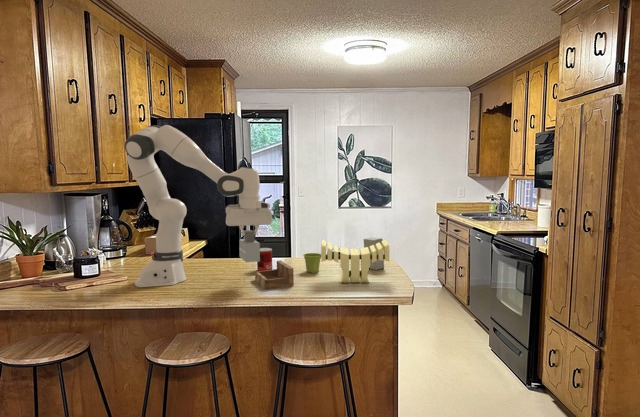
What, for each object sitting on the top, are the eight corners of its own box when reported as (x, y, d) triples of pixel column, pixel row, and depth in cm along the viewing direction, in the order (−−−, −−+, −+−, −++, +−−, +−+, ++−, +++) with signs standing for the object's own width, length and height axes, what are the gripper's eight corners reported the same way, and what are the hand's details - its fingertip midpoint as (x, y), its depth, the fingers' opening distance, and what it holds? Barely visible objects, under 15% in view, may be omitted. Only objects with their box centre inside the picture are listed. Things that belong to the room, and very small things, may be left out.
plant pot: (315, 268, 213) (315, 252, 212) (325, 272, 205) (325, 255, 204) (300, 271, 208) (299, 254, 207) (309, 274, 200) (309, 257, 199)
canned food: (273, 268, 214) (273, 247, 213) (270, 272, 206) (270, 250, 205) (259, 268, 215) (259, 247, 214) (255, 272, 207) (255, 250, 206)
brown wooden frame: (255, 279, 191) (254, 263, 190) (280, 276, 196) (280, 260, 195) (266, 289, 175) (265, 271, 174) (293, 285, 180) (293, 268, 179)
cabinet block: (245, 262, 174) (245, 233, 173) (239, 256, 185) (239, 229, 184) (259, 261, 176) (259, 232, 175) (252, 255, 187) (252, 228, 186)
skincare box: (384, 268, 210) (384, 238, 208) (374, 270, 206) (374, 239, 204) (373, 265, 217) (373, 236, 215) (363, 267, 213) (363, 237, 211)
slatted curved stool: (321, 284, 181) (321, 245, 180) (323, 275, 197) (322, 239, 196) (389, 284, 180) (389, 244, 178) (385, 275, 196) (385, 239, 194)
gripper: (227, 204, 172) (227, 237, 172) (273, 204, 180) (273, 235, 181) (224, 204, 177) (224, 235, 178) (269, 203, 186) (269, 233, 187)
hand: (249, 235), depth 180 cm, fingers closed on cabinet block, 3 cm apart
